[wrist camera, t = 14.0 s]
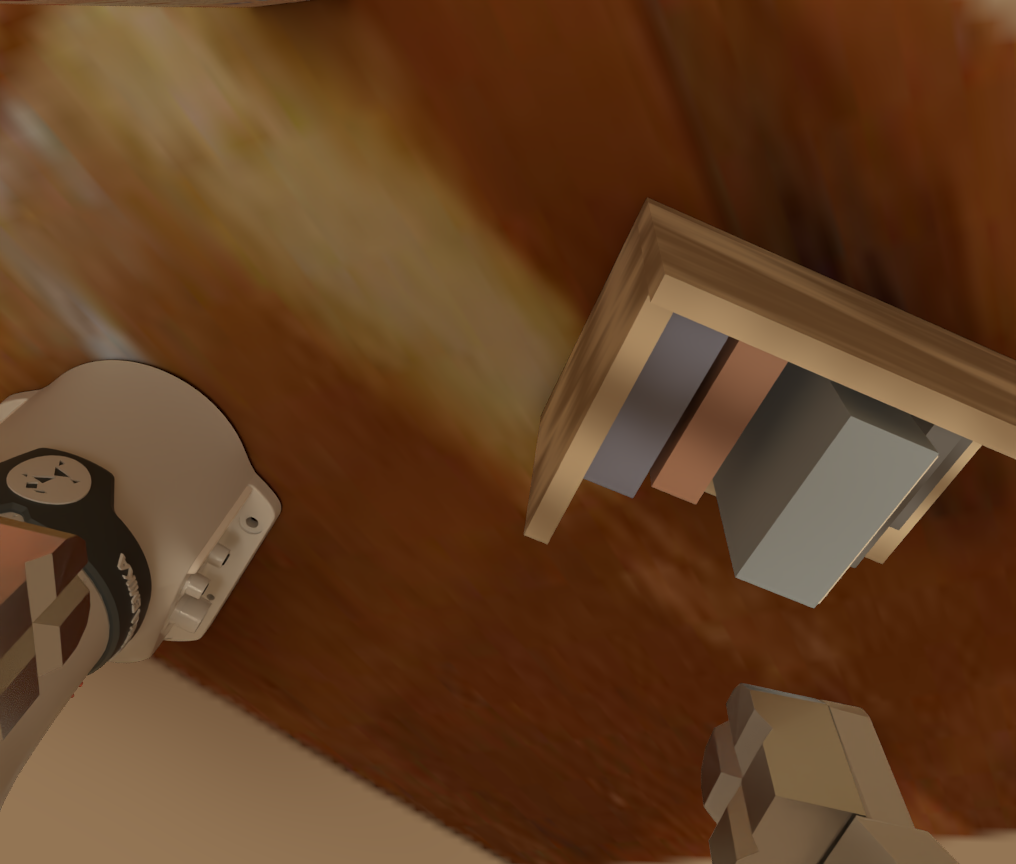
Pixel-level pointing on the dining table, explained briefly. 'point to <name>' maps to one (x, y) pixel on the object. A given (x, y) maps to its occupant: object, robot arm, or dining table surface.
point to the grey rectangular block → (814, 482)
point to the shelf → (771, 327)
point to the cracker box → (155, 2)
